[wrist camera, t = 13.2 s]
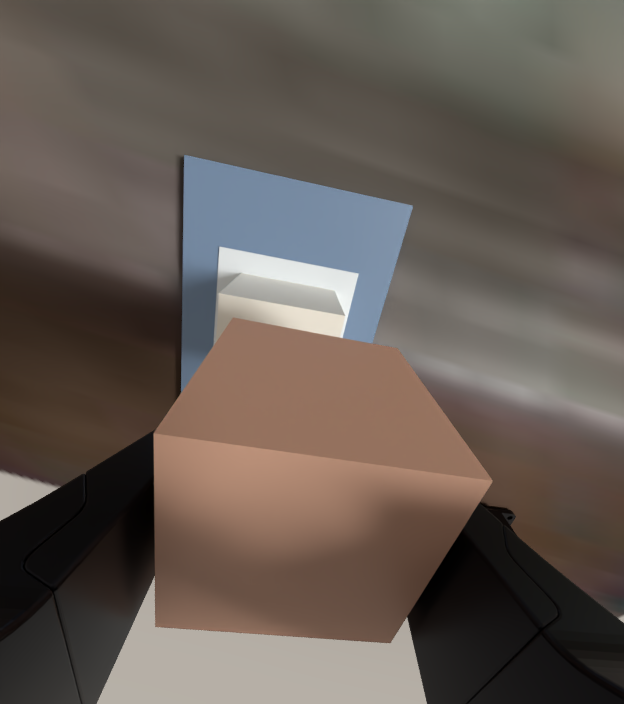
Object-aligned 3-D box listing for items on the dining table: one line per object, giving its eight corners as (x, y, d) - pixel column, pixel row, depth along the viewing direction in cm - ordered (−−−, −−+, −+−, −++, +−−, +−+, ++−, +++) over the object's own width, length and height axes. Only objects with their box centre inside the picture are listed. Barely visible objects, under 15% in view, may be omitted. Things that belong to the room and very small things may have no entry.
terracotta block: (354, 467, 11) (390, 643, 7) (218, 449, 11) (155, 627, 6) (397, 348, 9) (493, 481, 5) (232, 317, 9) (153, 433, 4)
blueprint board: (343, 433, 23) (344, 438, 22) (183, 411, 22) (180, 416, 21) (410, 206, 16) (413, 205, 16) (187, 156, 15) (183, 154, 15)
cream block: (316, 370, 20) (320, 416, 15) (233, 357, 19) (211, 401, 15) (334, 290, 18) (345, 315, 13) (241, 272, 17) (218, 293, 13)
